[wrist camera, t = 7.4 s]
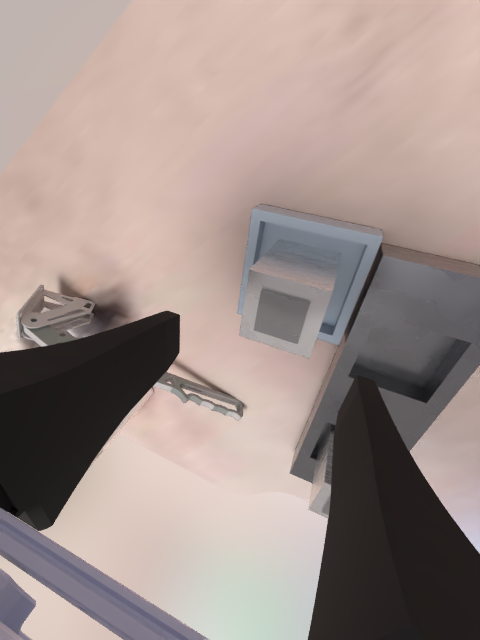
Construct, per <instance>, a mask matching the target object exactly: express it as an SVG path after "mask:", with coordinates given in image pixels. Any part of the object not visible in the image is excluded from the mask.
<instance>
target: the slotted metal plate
mask: <svg viewBox="0 0 480 640" xmlns="http://www.w3.org/2000/svg"><path fill="white" fill-rule="evenodd" d="M479 365H480V265H477V264H472V263H468V262H463V261H459V260H455V259H450V258H446V257H441V256H437V255H432V254H428V253H423V252H419V251H414V250H410V249H405V248H401V247H396V246H392V245H388V244H383V243H381V244H380V247H379V249H378V252H377V254H376V256H375V259H374V261H373V264H372V266H371V269H370V271H369V273H368V276H367V278H366V281H365V283H364V285H363V288H362V290H361V293H360V295H359V298H358V300H357V302H356V305H355V307H354V310H353V312H352V314H351V317H350V319H349V322H348V324H347V327H346V329H345V331H344V334H343V336H342V339H341V341H340V343H339V346H338V348H337V351H336V353H335V356H334V358H333V360H332V363H331V365H330V368H329V370H328V373H327V375H326V377H325V380H324V382H323V385H322V387H321V389H320V392H319V394H318V397H317V399H316V402H315V404H314V406H313V409H312V411H311V414H310V416H309V418H308V421H307V423H306V426H305V428H304V431H303V433H302V435H301V438H300V440H299V443H298V445H297V447H296V450H295V453H294V457H293V462H292V466H291V470H290V474H293V475H295V476H297V477H299V478H302V479H304V480H306V481H309V482H311V483H313V477H314V471H315V465H316V458H317V452H318V446H319V441H320V439H321V437H322V435H323V433H324V431H325V429H326V427H327V425H328V423H330V424H333V425H335V426H336V421H337V415H338V411H339V409H340V407H341V405H342V403H343V401H344V399H345V397H346V395H347V393H348V391H349V389H350V387H351V385H352V383H353V381H354V379H355V377H356V375H360V376H363V377H366V378H369V379H372V380H374V381H375V382H376V384H377V387H378V389H379V391H380V393H381V396H382V398H383V400H384V402H385V405H386V407H387V409H388V411H389V413H390V415H391V417H392V420H393V422H394V424H395V426H396V428H397V430H398V431H399V433H400V435H401V437H402V439H403V441H404V443H405V445H406V447H407V449H408V450H409V451H410V450H411V449H412V448H413V446H414V445H415V444H416V443H417V441H418V440H419V439H420V438H421V436H422V435H423V434H424V433H425V432H426V430H427V429H428V428H429V427H430V425H431V424H432V423H433V422H434V420H435V419H436V418H437V417H438V415H439V414H440V413H441V412H442V411H443V409H444V408H445V407H446V406H447V404H448V403H449V402H450V401H451V399H452V398H453V397H454V396H455V395H456V393H457V392H458V391H459V390H460V388H461V387H462V386H463V385H464V383H465V382H466V381H467V380H468V379H469V377H470V376H471V375H472V374H473V372H474V371H475V370H476V369H477V367H478V366H479Z"/></svg>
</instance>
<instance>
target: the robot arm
mask: <svg viewBox="0 0 480 640" xmlns="http://www.w3.org/2000/svg"><path fill="white" fill-rule="evenodd" d="M179 347H180V315H179V314H176V313H173V312H170V311H164V312H161V313H158V314H155V315H152V316H149V317H146V318H143V319H141V320H138V321H135V322H132V323H129V324H126V325H123V326H121V327H118V328H114V329H111V330H108V331H105V332H102V333H98V334H95V335H92V336H88V337H85V338H81V339H77V340H72V341H68V342H64V343H59V344H54V345H48V346H43V347H37V348H31V349H25V350H18V351H10V352H2V353H0V555H1V556H3V557H4V558H6V559H7V560H8V561H10V562H11V563H13V564H14V565H16V566H17V567H19V568H20V569H21V570H23V571H24V572H26V573H27V574H29V575H30V576H32V577H33V578H35V579H36V580H38V581H39V582H41V583H42V584H43V585H45V586H46V587H48V588H49V589H51V590H52V591H54V592H55V593H56V594H58V595H59V596H61V597H62V598H64V599H65V600H67V601H68V602H70V603H71V604H72V605H74V606H75V607H77V608H78V609H80V610H81V611H83V612H84V613H86V614H87V615H89V616H90V617H92V618H93V619H95V620H96V621H97V622H99V623H100V624H102V625H103V626H105V627H106V628H108V629H109V630H110V631H112V632H113V633H115V634H116V635H118V636H119V637H121V638H122V639H124V640H209V639H207V638H206V637H204V636H203V635H201V634H200V633H198V632H196V631H195V630H193V629H192V628H190V627H188V626H186V625H185V624H184V623H182V622H180V621H179V620H177V619H176V618H174V617H173V616H171V615H169V614H168V613H166V612H165V611H163V610H161V609H160V608H158V607H157V606H155V605H154V604H152V603H150V602H149V601H147V600H145V599H144V598H143V597H141V596H139V595H138V594H136V593H135V592H133V591H131V590H130V589H128V588H126V587H125V586H124V585H122V584H120V583H119V582H117V581H116V580H114V579H112V578H111V577H109V576H108V575H106V574H104V573H103V572H101V571H100V570H98V569H97V568H95V567H93V566H92V565H90V564H89V563H87V562H85V561H84V560H82V559H81V558H79V557H77V556H76V555H74V554H73V553H71V552H70V551H68V550H66V549H65V548H63V547H62V546H60V545H59V544H57V543H55V542H54V541H52V540H51V539H49V538H47V537H46V536H44V535H42V534H41V533H40V532H38V531H41V530H44V529H47V528H49V527H50V526H52V525H53V524H54V522H55V520H56V519H57V517H58V515H59V513H60V512H61V510H62V509H63V507H64V505H65V504H66V502H67V501H68V499H69V497H70V496H71V494H72V492H73V491H74V489H75V488H76V486H77V484H78V483H79V482H80V480H81V479H82V477H83V476H84V474H85V472H86V471H87V470H88V468H89V467H90V465H91V464H92V462H93V461H94V459H95V458H96V456H97V455H98V453H99V452H100V451H101V449H102V448H103V446H104V445H105V444H106V442H107V441H108V439H109V438H110V437H111V435H112V434H113V433H114V431H115V430H116V429H117V427H118V426H119V425H120V423H121V422H122V421H123V419H124V418H125V417H126V416H127V414H128V413H129V412H130V411H131V410H132V409H133V408H134V406H135V405H136V404H137V403H138V402H139V401H140V400H141V399H142V398H143V397H144V396H145V394H146V393H147V392H148V391H149V390H150V389H151V388H152V387H153V386H154V385H155V384H156V382H157V381H158V380H159V379H160V378H161V377H162V376H163V375H164V374H165V372H166V371H167V370H168V369H169V367H170V366H171V364H172V363H173V361H174V360H175V358H176V357H177V355H178V354H179ZM8 512H9V513H11V514H12V515H11V514H9V513H8ZM13 515H14V516H15V517H14V516H13ZM16 517H17V518H19V519H20V520H19V519H17V518H16ZM21 520H22V521H23V522H22V521H21ZM24 522H25V523H27V524H28V525H30V526H31V527H30V526H28V525H27V524H25V523H24ZM32 527H33V528H34V529H33V528H32ZM35 529H36V530H38V531H36V530H35ZM35 605H36V601H35V600H34V599H33V598H32V597H30V596H29V595H28V594H27V593H26V592H25V591H24V590H23V589H22V588H20V587H19V586H18V585H17V584H16V583H15V582H14V580H13V579H12V578H11V577H10V576H9V575H8V574H7V573H5V572H4V571H3V570H2V569H0V640H32V639H31V638H29V637H28V636H26V635H25V634H24V633H22V632H21V631H20V629H21V626H22V624H23V623H24V621H25V620H26V618H27V617H28V616H29V614H30V613H31V612H32V610H33V609H34V607H35ZM308 640H480V554H479V552H478V551H477V550H476V549H475V547H474V546H473V545H472V544H471V542H470V541H469V540H468V538H467V537H466V536H465V534H464V533H463V532H462V530H461V529H460V528H459V526H458V525H457V524H456V522H455V521H454V520H453V518H452V517H451V516H450V514H449V513H448V511H447V510H446V509H445V507H444V506H443V504H442V503H441V501H440V500H439V498H438V497H437V495H436V494H435V492H434V491H433V489H432V488H431V486H430V485H429V483H428V482H427V480H426V479H425V477H424V476H423V474H422V473H421V471H420V469H419V468H418V466H417V464H416V463H415V461H414V459H413V457H412V456H411V454H410V452H409V450H408V449H407V447H406V445H405V443H404V441H403V439H402V437H401V435H400V433H399V431H398V430H397V428H396V426H395V424H394V422H393V420H392V417H391V415H390V413H389V411H388V409H387V407H386V405H385V402H384V400H383V398H382V396H381V393H380V391H379V389H378V387H377V384H376V382H375V381H374V380H372V379H369V378H366V377H363V376H360V375H356V377H355V379H354V381H353V383H352V385H351V387H350V389H349V391H348V393H347V395H346V397H345V399H344V401H343V403H342V405H341V407H340V409H339V411H338V415H337V421H336V426H335V432H334V439H333V456H332V477H331V497H330V509H329V517H328V525H327V531H326V538H325V544H324V551H323V557H322V563H321V569H320V576H319V581H318V587H317V592H316V598H315V604H314V609H313V615H312V621H311V626H310V631H309V636H308Z"/></svg>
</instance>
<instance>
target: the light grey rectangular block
mask: <svg viewBox="0 0 480 640" xmlns="http://www.w3.org/2000/svg"><path fill="white" fill-rule="evenodd" d="M341 254H342V253H339V252H334V251H330V250H326V249H322V248H317V247H313V246H309V245H305V244H300V243H296V242H292V241H288V240H283V239H279V240H278V241H277V242H276V243H275V244H274V245H273V246H272V247H271V248H270V249H269V250H268V251H267V252H266V253H265V254H264V255H263V256H262V257H261V258H260V259H259V260H258V261H257V262H256V263H255V264H254V265H253V266H252V267H251V268H250V269H249V273H248V280H247V287H246V293H245V300H244V306H243V313H242V320H241V326H240V333H239V336H242V337H245V338H248V339H251V340H254V341H257V342H260V343H263V344H266V345H269V346H272V347H275V348H278V349H281V350H284V351H287V352H290V353H293V354H296V355H299V356H302V357H305V358H308V359H310V356H311V353H312V350H313V347H314V345H315V342H316V339H317V336H318V333H319V330H320V327H321V324H322V321H323V319H324V316H325V313H326V310H327V307H328V304H329V301H330V298H331V295H332V292H333V288H334V284H335V280H336V275H337V271H338V267H339V262H340V258H341Z"/></svg>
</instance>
